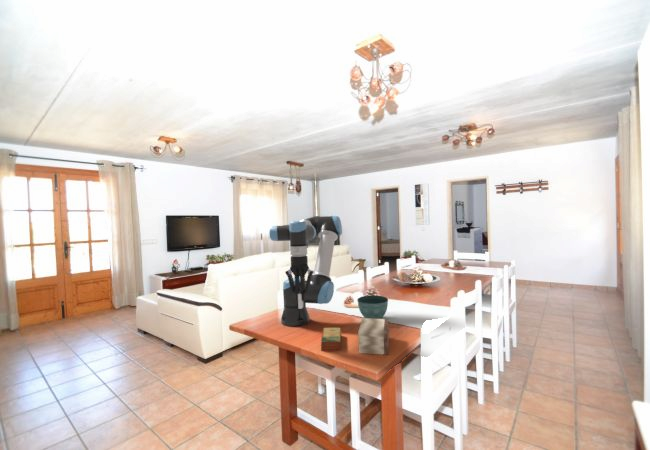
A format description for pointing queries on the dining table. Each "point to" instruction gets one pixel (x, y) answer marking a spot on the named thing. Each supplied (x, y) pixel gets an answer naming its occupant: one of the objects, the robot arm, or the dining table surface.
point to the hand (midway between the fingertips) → (300, 307)
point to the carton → (331, 339)
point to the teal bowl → (373, 306)
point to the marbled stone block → (373, 336)
